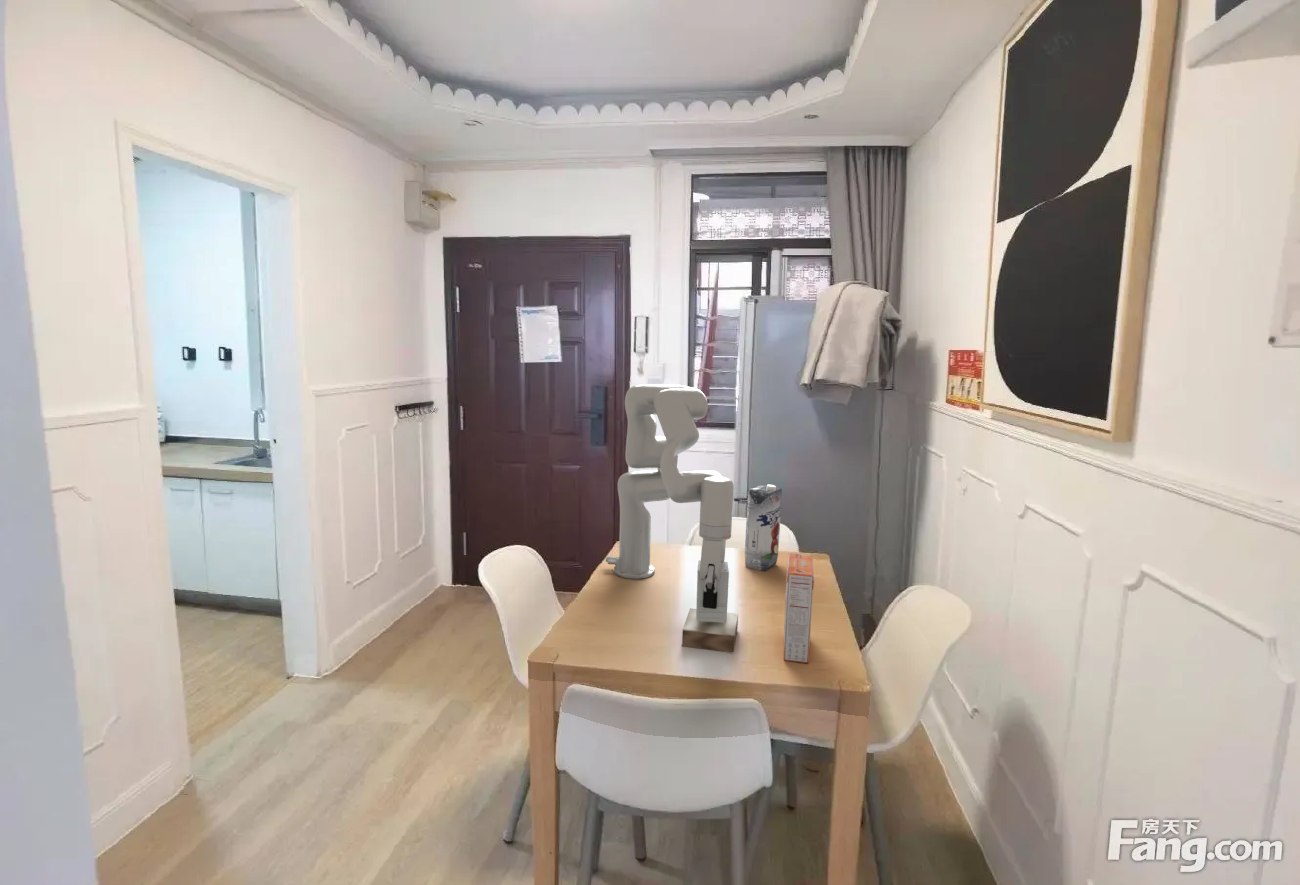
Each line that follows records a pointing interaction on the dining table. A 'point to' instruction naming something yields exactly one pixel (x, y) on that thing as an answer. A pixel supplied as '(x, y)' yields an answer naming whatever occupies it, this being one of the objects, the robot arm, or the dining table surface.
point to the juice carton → (762, 527)
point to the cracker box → (798, 608)
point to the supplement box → (722, 598)
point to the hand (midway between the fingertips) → (711, 600)
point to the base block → (710, 633)
